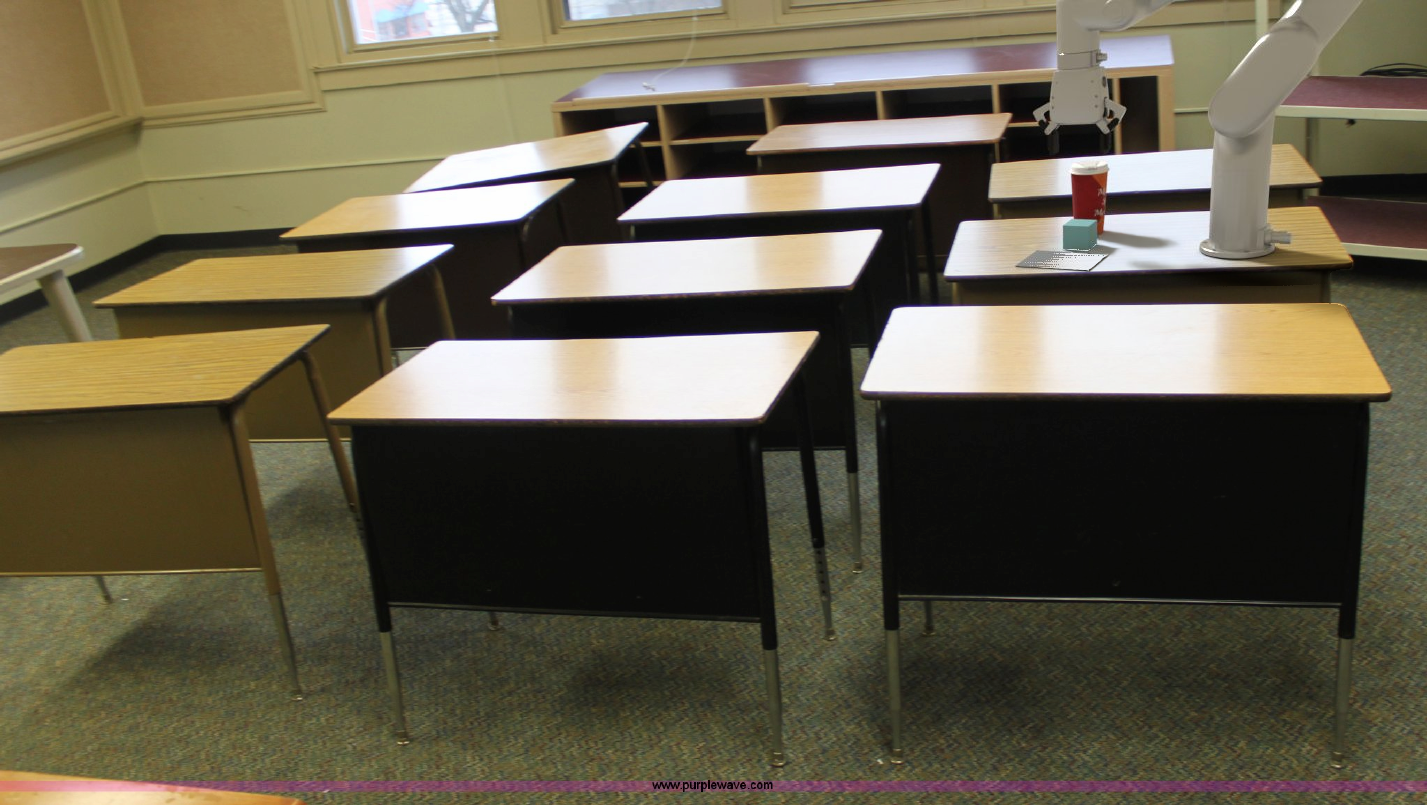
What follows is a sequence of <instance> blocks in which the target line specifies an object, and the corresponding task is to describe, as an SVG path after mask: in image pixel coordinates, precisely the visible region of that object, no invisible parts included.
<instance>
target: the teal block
mask: <svg viewBox="0 0 1427 805" xmlns="http://www.w3.org/2000/svg"><path fill="white" fill-rule="evenodd" d="M1095 244H1097V245H1098V235H1097V220H1085V219H1074V218H1071V219H1070V220H1068V221H1067V222H1066V223H1064V224H1063V225H1062V250H1063V249H1077V250H1078V249H1079V250H1089V249H1091V248H1092V247H1093V246H1094V245H1095ZM1094 247H1095V246H1094ZM1094 247H1093V248H1094ZM1093 248H1092V249H1093ZM1092 249H1091V250H1092ZM1089 251H1090V250H1089Z"/></svg>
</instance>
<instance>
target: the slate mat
mask: <svg viewBox="0 0 1427 805" xmlns="http://www.w3.org/2000/svg"><path fill="white" fill-rule="evenodd" d="M1071 252H1073V253H1074V252H1075V253H1076V252H1077V253H1078V252H1079V251H1061V250H1060V251H1056V250H1040V249H1038V250H1034V252H1032V253H1031V254H1030V255H1028V256H1027V257H1025V258H1024V259H1023V260H1021V261H1019V262H1018V263H1017V264H1016V265H1015V266H1017V267H1016V268H1027V267H1050V266H1046V265H1053V264H1047V263H1046V264H1045V263H1044V262H1051V261H1052V260H1059V259H1053V258H1064V257H1059V256H1073V255H1065V254H1060V253H1071ZM1054 253H1055V254H1054ZM1056 253H1059V254H1056ZM1053 256H1054V257H1053ZM1055 256H1056V257H1055ZM1057 256H1058V257H1057ZM1074 256H1077V255H1074ZM1078 256H1080V255H1078ZM1081 256H1083V255H1081ZM1084 256H1085V255H1084ZM1086 256H1087V255H1086ZM1088 256H1090V255H1088ZM1091 256H1092V255H1091ZM1093 256H1094V255H1093ZM1098 256H1099V255H1098ZM1103 256H1104V255H1103ZM1051 258H1052V259H1051ZM1066 258H1067V257H1066ZM1068 258H1069V257H1068ZM1070 258H1071V257H1070ZM1075 258H1076V257H1075ZM1046 260H1047V261H1046ZM1048 260H1049V261H1048ZM1050 260H1051V261H1050ZM1062 260H1063V259H1062ZM1025 262H1026V263H1025ZM1028 262H1029V263H1028ZM1030 262H1031V263H1030ZM1032 262H1033V263H1032ZM1035 262H1036V263H1035ZM1037 262H1043V263H1044V264H1043V263H1037ZM1052 262H1053V261H1052ZM1054 262H1055V261H1054ZM1056 262H1057V261H1056ZM1030 265H1031V266H1030ZM1032 265H1033V266H1032ZM1037 265H1038V266H1037ZM1039 265H1045V266H1039ZM1054 265H1055V264H1054ZM1056 265H1057V264H1056ZM1058 265H1059V264H1058ZM1018 266H1019V267H1018ZM1051 267H1052V266H1051ZM1053 267H1054V266H1053ZM1055 267H1056V266H1055Z"/></svg>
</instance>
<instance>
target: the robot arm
mask: <svg viewBox="0 0 1427 805" xmlns="http://www.w3.org/2000/svg"><path fill="white" fill-rule="evenodd" d="M1175 1H1177V0H1056V5H1055V6H1056V8H1055V10H1056V12H1055V14H1056V17H1055V18H1056V66H1057V67H1056V68H1057V69H1056V70H1054V71H1053V74H1052V75H1053V76H1052V81H1051V87H1050V95H1049V96H1050V97H1049V102H1047V103H1046V104H1044V105H1042V106H1040V107H1038V108H1036V109H1035V110H1034V111H1033V112H1032V115H1033V116H1034V118H1035V121H1037V124H1038V126H1039V127H1040V128H1041V129H1042V130H1043V131H1044V133H1045V135H1046V137H1047V143H1046V144H1047V151H1049V156H1055V155H1056V154H1058V153H1060V135H1059V134H1060V133H1059V131H1057V129H1058V128H1059V127H1060V125H1091V124H1096V126H1097V127H1098V128H1099V129H1100V131H1101V133H1100V134H1099V155H1100V156H1105V155H1107V154H1108V153H1109V152H1110V150H1111V149H1112V132H1113V131H1114V129H1115V128H1116V127H1117V126H1119V124H1120V123H1121V122H1122V118H1123V117H1124V115H1125V113H1126V111H1127V107H1125V106H1123V105H1122V104H1120V103H1117V102H1115V101H1114V100H1112V99H1110V95H1109V94H1110V93H1109V87H1108V86H1109V85H1108V78H1107V73H1106V68H1105V66H1104V65H1103V66H1102V62H1106V61H1107V60H1108V53H1106V52H1105V53H1104V52H1102V50H1101V48H1100V44H1101V43H1100V40H1101V38H1100V36H1101V35H1100V34H1101V33H1100V32H1103V31H1104V32H1123V31H1124V30H1127V29H1129V28H1131V27H1133V26H1134V25H1136V24H1138V23H1139V22H1141V21H1143V20H1145V19H1146V18H1148V17H1150V16H1151V15H1153V14H1154V13H1156V12H1158V11H1160V10H1161V9H1163V8H1165V7H1167V6H1169V5H1171V4H1172V3H1174V2H1175ZM1363 1H1364V0H1295V1H1294V3H1293V4H1292V5H1291V6H1290V7H1289V9H1287V11H1286V12H1285V14H1283V15H1282V17H1281V18H1280V19H1278V21H1277V22H1276V23H1274V25H1272V26H1271V27H1270V28H1269V29H1268V30H1267V31H1266V32H1265V33H1264V34H1262V36H1260V38H1259V39H1258V41H1257V42H1256V43H1255V44H1254V46H1252V48H1251V49H1250V50H1249V52H1248V53H1247V54H1246V55H1245V56H1244V58H1242V60H1241V61H1240V63H1238V65H1237V66H1236V68H1235V69H1233V71H1232V72H1231V73H1230V74H1229V76H1228V77H1227V78H1226V79H1225V81H1224V82H1223V83H1222V84H1221V85H1220V86H1219V88H1218V89H1217V90H1216V91H1215V92H1214V94H1213V95H1212V97H1211V99H1210V101H1209V104H1208V107H1207V116H1208V121H1209V122H1208V123H1209V124H1210V126H1211V128H1212V129H1213V130H1214V137H1213V148H1212V163H1211V164H1212V165H1211V186H1210V188H1211V189H1210V207H1209V224H1208V225H1209V226H1208V227H1209V229H1208V238H1207V239H1204V240H1202V241H1201V242H1200V243H1199V252H1201V253H1202V254H1204V255H1206V256H1210V257H1214V258H1218V259H1219V258H1221V259H1233V260H1234V259H1252V258H1259V257H1262V256H1267V255H1269V254H1271V253H1273V252H1274V251H1275V248H1276V244H1280V245H1292V242H1293V236H1294V235H1293V233H1291V232H1290V233H1289V231H1288V230H1286V231H1285V230H1279V231H1278V230H1274V229H1273V228H1272V222H1268V211H1269V194H1270V179H1271V178H1270V177H1271V164H1272V151H1273V139H1274V138H1273V137H1274V128H1275V119H1276V113H1277V112H1276V111H1277V110H1278V109H1279V107H1280V106H1281V105H1282V104H1283V103H1284V102H1285V100H1286V99H1287V98H1289V96H1290V95H1291V94H1292V92H1293V91H1295V89H1296V88H1297V87H1298V85H1299V84H1300V83H1301V82H1302V81H1303V80H1304V79H1305V78H1306V76H1307V75H1308V74H1309V72H1310V71H1311V70H1312V68H1313V67H1314V66H1315V64H1316V62H1317V60H1318V58H1320V57H1319V56H1320V55H1321V53H1322V51H1323V50H1324V49H1325V47H1327V45H1328V44H1329V42H1330V41H1331V40H1332V39H1333V38H1334V37H1335V36H1336V34H1337V33H1338V32H1339V31H1340V30H1341V28H1342V27H1343V26H1344V25H1345V23H1346V22H1347V21H1348V19H1350V17H1351V16H1352V15H1353V14H1354V13H1355V11H1356V10H1357V9H1358V7H1359V6H1360V5H1361V3H1362V2H1363ZM1047 111H1049V119H1050V122H1049V121H1048V119H1047V118H1045V115H1044V114H1045V113H1046V112H1047ZM1110 111H1112V112H1114V116H1113V118H1112V120H1109V119H1108V117H1109V115H1110Z"/></svg>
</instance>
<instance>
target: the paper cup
mask: <svg viewBox="0 0 1427 805" xmlns="http://www.w3.org/2000/svg"><path fill="white" fill-rule="evenodd" d="M1108 166H1109V165H1108V163H1107V161H1103V160H1086V161H1085V160H1084V161H1079V162H1074V163H1072V164H1071V166H1070V169H1069V173H1070V182H1071V195H1072V196H1071V198H1072V199H1071V200H1072V215H1073V219H1085V220H1097V236H1098V235H1102V234H1103V232H1104V228H1105V215H1106V203H1107V191H1108V190H1107V187H1108V176H1109V175H1108V174H1109V171H1110V168H1109V167H1108Z"/></svg>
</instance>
